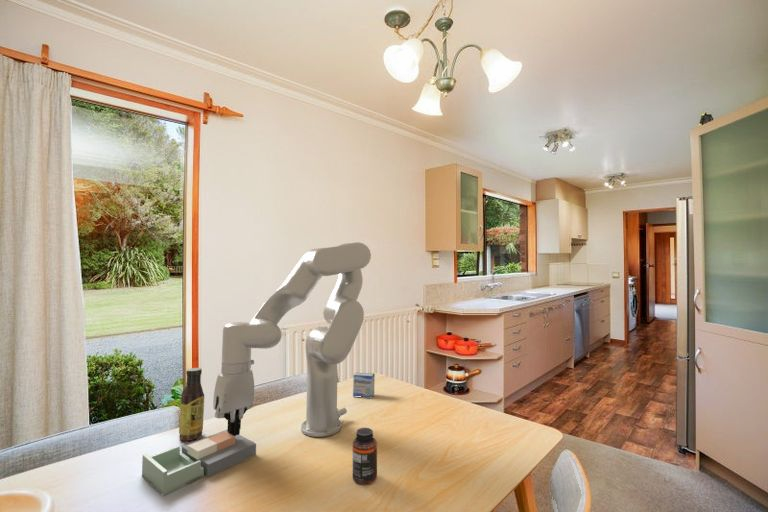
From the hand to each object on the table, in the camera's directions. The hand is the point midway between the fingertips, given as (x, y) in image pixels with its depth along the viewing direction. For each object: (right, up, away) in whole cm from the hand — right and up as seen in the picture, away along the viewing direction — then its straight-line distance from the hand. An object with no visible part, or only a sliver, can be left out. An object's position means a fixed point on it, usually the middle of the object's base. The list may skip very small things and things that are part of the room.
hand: (233, 434), depth 98 cm
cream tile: (-5, -1, -7) cm, 9 cm away
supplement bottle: (+37, -5, -13) cm, 39 cm away
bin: (-9, -4, -13) cm, 16 cm away
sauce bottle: (-16, -5, +7) cm, 18 cm away
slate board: (-2, -4, -4) cm, 6 cm away
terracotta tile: (-2, -1, -3) cm, 4 cm away
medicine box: (+34, -6, +42) cm, 55 cm away
